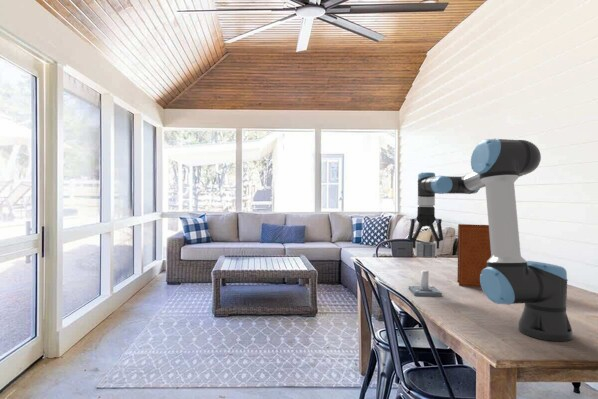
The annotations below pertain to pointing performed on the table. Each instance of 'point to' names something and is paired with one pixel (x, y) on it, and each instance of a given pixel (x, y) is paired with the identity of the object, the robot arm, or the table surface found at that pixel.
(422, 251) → the hub
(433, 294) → the shaft block
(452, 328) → the table surface
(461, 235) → the book
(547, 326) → the robot arm
